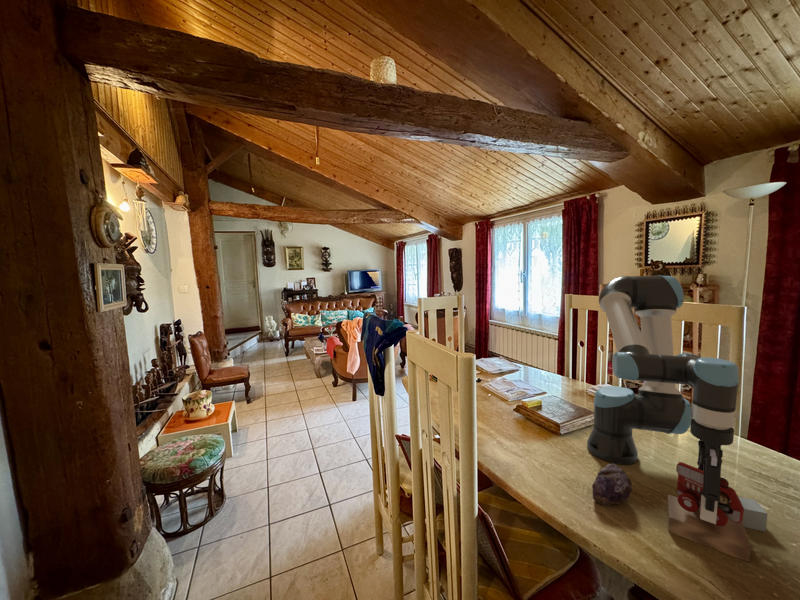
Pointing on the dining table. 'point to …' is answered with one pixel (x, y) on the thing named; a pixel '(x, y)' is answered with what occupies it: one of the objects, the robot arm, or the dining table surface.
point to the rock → (611, 485)
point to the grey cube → (753, 514)
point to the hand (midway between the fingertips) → (705, 508)
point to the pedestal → (708, 531)
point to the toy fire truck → (691, 499)
